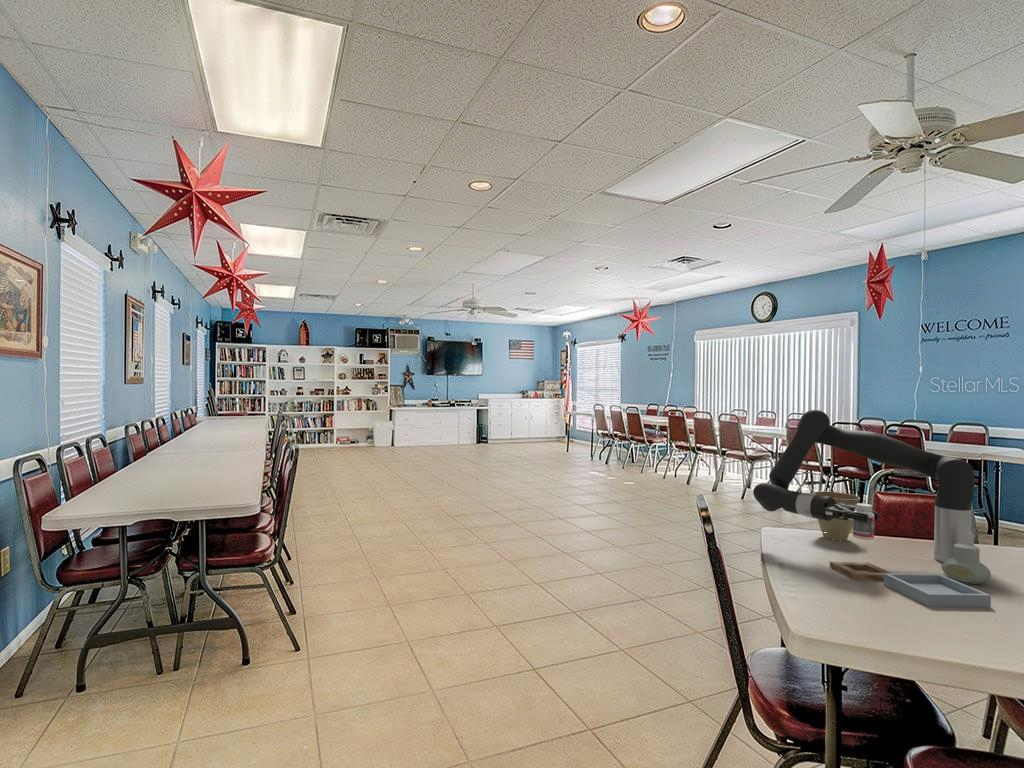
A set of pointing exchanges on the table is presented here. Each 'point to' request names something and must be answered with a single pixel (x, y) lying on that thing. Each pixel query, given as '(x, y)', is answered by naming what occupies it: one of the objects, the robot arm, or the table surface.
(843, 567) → the walnut socket
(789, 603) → the table surface
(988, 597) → the slate tray
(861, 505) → the pill bottle
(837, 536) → the plant pot
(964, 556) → the air freshener
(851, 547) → the table surface
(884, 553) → the table surface
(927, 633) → the table surface
